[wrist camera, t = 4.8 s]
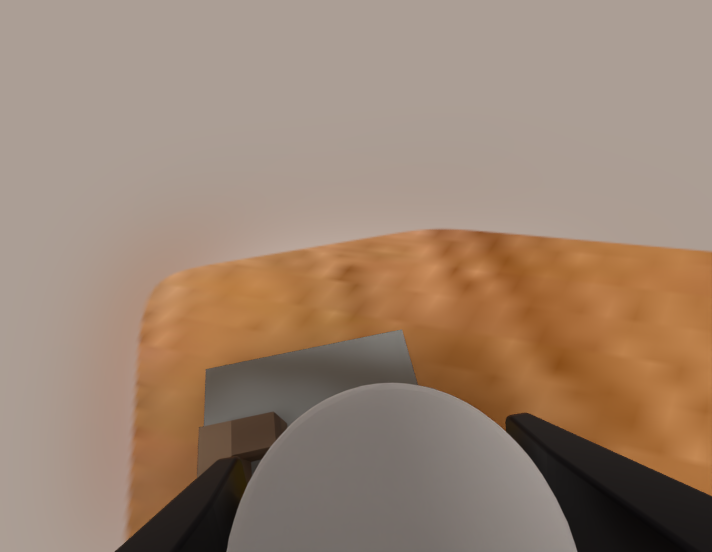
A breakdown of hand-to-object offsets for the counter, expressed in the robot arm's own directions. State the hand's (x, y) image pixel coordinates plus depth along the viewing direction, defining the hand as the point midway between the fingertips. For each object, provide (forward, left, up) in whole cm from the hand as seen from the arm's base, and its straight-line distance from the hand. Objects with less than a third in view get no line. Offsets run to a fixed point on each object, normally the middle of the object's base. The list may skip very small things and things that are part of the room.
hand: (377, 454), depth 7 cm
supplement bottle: (-1, 0, -7) cm, 7 cm away
